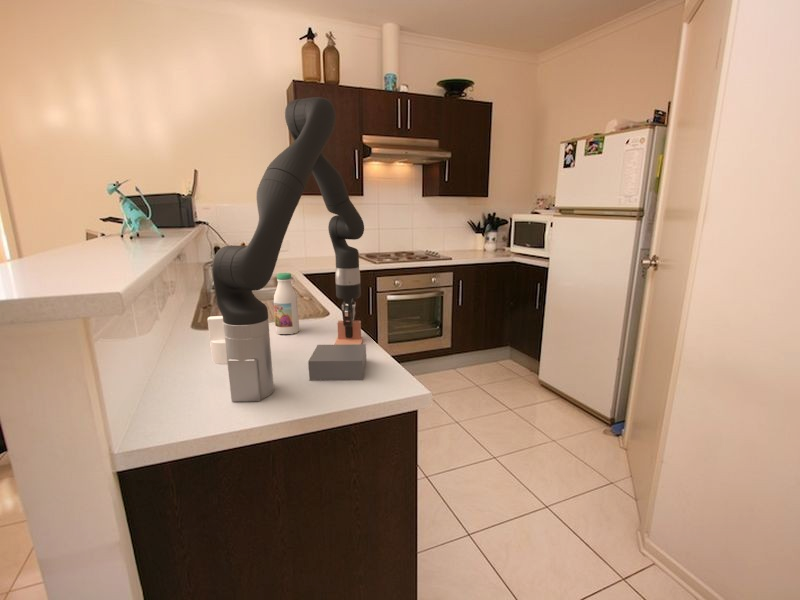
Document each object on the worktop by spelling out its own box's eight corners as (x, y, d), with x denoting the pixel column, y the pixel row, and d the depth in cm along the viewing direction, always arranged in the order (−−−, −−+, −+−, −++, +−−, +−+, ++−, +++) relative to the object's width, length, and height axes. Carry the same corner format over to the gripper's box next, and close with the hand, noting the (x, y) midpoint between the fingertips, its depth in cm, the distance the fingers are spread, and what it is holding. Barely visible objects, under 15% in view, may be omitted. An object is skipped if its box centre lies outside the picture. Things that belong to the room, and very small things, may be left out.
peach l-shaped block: (356, 362, 110) (356, 341, 108) (327, 362, 109) (326, 341, 108) (362, 338, 130) (362, 320, 128) (337, 338, 129) (336, 320, 128)
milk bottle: (288, 327, 142) (284, 271, 138) (304, 330, 138) (300, 272, 134) (270, 333, 136) (266, 274, 131) (287, 337, 132) (283, 276, 128)
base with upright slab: (209, 365, 108) (204, 322, 106) (214, 354, 117) (210, 314, 114) (245, 362, 111) (241, 319, 108) (247, 351, 119) (244, 311, 116)
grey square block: (362, 380, 99) (362, 360, 98) (309, 380, 99) (308, 361, 98) (366, 360, 111) (366, 343, 110) (319, 361, 111) (318, 343, 110)
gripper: (358, 286, 117) (359, 343, 121) (362, 278, 131) (363, 329, 135) (332, 286, 117) (334, 343, 121) (338, 278, 131) (340, 329, 135)
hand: (349, 335), depth 128 cm, fingers closed on peach l-shaped block, 2 cm apart
